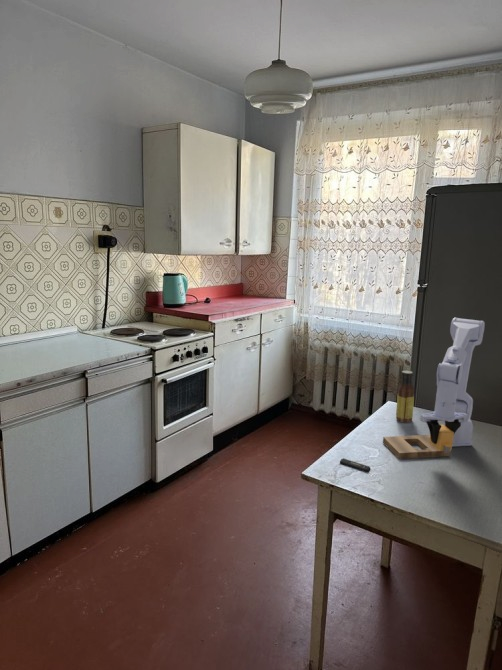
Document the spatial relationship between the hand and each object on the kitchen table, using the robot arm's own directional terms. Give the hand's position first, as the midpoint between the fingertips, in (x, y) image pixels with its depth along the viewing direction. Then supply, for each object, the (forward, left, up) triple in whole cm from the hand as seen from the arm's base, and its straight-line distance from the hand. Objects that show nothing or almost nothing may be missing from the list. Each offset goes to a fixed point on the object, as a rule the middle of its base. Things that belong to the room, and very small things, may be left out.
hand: (440, 442), depth 143 cm
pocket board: (+1, -12, -8) cm, 15 cm away
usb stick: (+26, -3, -9) cm, 28 cm away
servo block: (0, 0, -2) cm, 2 cm away
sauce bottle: (-7, -36, -8) cm, 38 cm away
